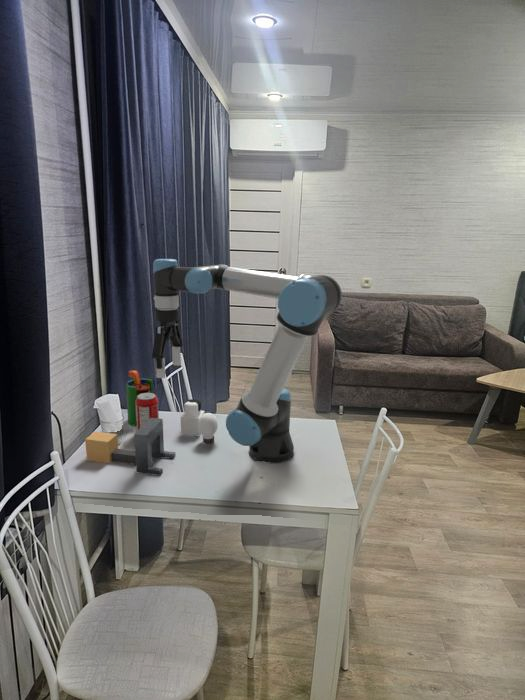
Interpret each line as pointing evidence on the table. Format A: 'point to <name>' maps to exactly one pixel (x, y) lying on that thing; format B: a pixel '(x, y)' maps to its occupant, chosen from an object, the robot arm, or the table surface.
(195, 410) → the medicine bottle
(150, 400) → the soda can
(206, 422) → the light bulb
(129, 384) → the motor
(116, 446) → the plug
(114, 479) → the table surface
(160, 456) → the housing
